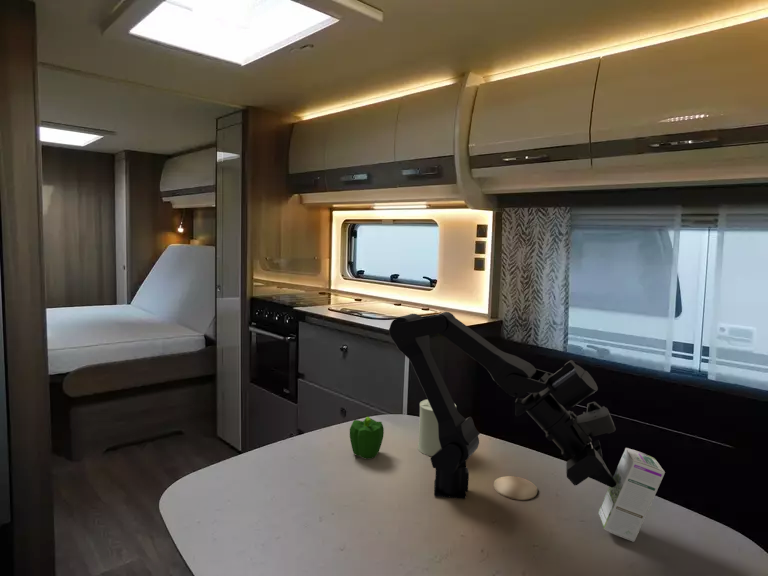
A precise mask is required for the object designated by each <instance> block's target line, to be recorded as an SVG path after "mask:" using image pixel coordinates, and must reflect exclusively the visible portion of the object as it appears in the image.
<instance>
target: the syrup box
mask: <svg viewBox="0 0 768 576" xmlns="http://www.w3.org/2000/svg"><path fill="white" fill-rule="evenodd" d="M665 473H666V472H665V470H664V469H663V468H662V466H661V465H660V463H659V462H658V461H657V459H656V458H655V457H653V456H651V455H648V453H647V454H646V453H644V452H641V451H638V450H635V449H633V448H632V449H631V448H629V447H625V448H624V451H623V453H622V455H621V458H620V460H619V462H618V465H617V467H616V468H615V472H614V474H613V475H612V476H613V478H614V480H615V482H616V486H614V487H612V488H611V487H609V486H608V489H607V491H606V493H605V495H604V498H603V500H602V502H601V504H600V507H599V510H598V512H597V516H598V517H599V519H600V523H601V525H602V528H603V530H605V531H607V532H608V533H611V534H612V535H615V536H617V537H619V538H623V539H625V540H628V541H631V542H632V543H634V542H635V541H636V539H637V537H638V536H639V532H640V530H641V528H642V526H643V523H644V521H645V519H646V516H647V515H648V512H649V510H650V508H651V505H652V503H653V501H654V499H655V496H656V494H657V492H658V489H659V487H660V485H661V483H662V480H663V478H664V476H665Z"/></svg>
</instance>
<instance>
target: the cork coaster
mask: <svg viewBox="0 0 768 576" xmlns="http://www.w3.org/2000/svg"><path fill="white" fill-rule="evenodd" d="M493 488H494V489H493V490H495V491H496V493H498V494H499V495H500V496H503V497H504V498H508V499H512V500H516V501H517V500H518V501H528V500H532V499H534V498H535V497H536V496H537V494H538V488H537V486H536V485H535V484H534V483H533V482H531V481H530V480H528V479H525V478H523V477H518V476H513V475H512V476H511V475H507V476H501V477H498V478H496V479H495V480H494V482H493Z"/></svg>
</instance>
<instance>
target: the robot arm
mask: <svg viewBox="0 0 768 576" xmlns="http://www.w3.org/2000/svg"><path fill="white" fill-rule="evenodd" d="M388 333H389V337H390V338H391V340H392V341H393V344H394V345H395V346H396V349H398V351H399V352H401V354H403V355H404V356H405V357H406V358H407V359H408V360H409V362H410V364H411V366H412V368H413V370H414V373H415V375H416V377H417V379H418V381H419V384H420V386H421V387H422V388H421V389H422V390H423V392H424V396H425V397H426V398H427V399H428V401H429V404H430V406H431V408H432V410H433V413H434V415H435V417H436V419H437V422H438V435H439V442H440V445H441V449H440V450H438V451H437V452H436V453H435V454H434V455H433V456H430V461H431V462H430V463H431V465H432V468H433V469H435V473H434V474H435V475H434V486H433V488H434V489H433V491H434V493H433V496H434V497H436V498H437V497H438V498H447V499H448V498H449V499H458V500H459V499H460V500H465V499H467V493H468V491H469V479H470V478H469V477H470V473H469V472H470V471H469V468H468V467H467V462H466V461H467V460H468V459H469V458H471V456H472V455H473V454H474V453H475V452H476V450H478V447H479V445H480V438H479V435H480V432H479V430H478V429H477V428H476V426H475V423H474V419H473V418H472V416H469V417H467V418H465V417H464V416H463V415H462V414H461V413H460V412H459V411H458V409H457V405H456V406H455V404H456V403H455V402H454V400H453V398H452V395H451V393H450V391H449V389H448V387H447V384H446V382H445V381H444V378H443V375H442V373H441V371H440V369H439V368H438V365H437V363H436V360H435V357H434V356H433V354H432V352H431V349H430V348H431V344H430V341H431V340H430V335H431V336H432V335H435V334H436V335H437V334H439V335H441V336H442V337H444V338H445V339H446V340H448V341H449V342H450V343H451V344H452V345H454V346H456V347H457V348H458V349H460V350H461V351H462V352H463V353H464V354H466V355H468V356H469V357H470V358H472V359H473V360H474V361H475V362H477V363H478V364H480V365H481V366H483V368H484V369H485V370H486V371H487V372H488V373H489V374H490V376H491V378H492V380H493V381H494V382H495V383H496V384H497V385H498V387H499V388H501V390H503V391H504V393H505V394H507V395H508V396H510V397H512V398H516V399H515V401H514V406H515V412H514V415H515V417H519V416H520V417H521V415H523V414H524V413H525V412H526V413H527V414H528V415H529V416H530V418H532V420H534V422H535V423H536V424H537V425H538V426H539V427H540V428H541V430H542V431H543V432H544V433H545V438H546V439H547V440H548V442H553V443H554V444H555V445H556V446H557V447H558V448H559V449H560V450H561V456H562V457H563V458H564V459H565V460H566V459H567V458H569V457H570V456H571V458H569V459H568V460H567V461H566V465H565V466H566V467H565V469H566V470H565V471H566V472H565V473H566V478H567V479H568V480H569V482H570V483H572V485H573V486H578V485H579V484H581V483H582V482H584V481H586V480H587V479H588V478H589V479H592V480H594V481H597V482H598V483H601V484H603V485H604V486H607V487H608V488H609V487H611V488H612V487H614V486H616V482H615V480H614V478H613V476H614V475H612V473H611V472H610V470H609V468H608V467H607V465H606V463H605V461H604V460H603V453H602V447H601V443H600V440H599V439H596V440H594V441H593V440H592V438H591V437H597V436H601V435H604V434H612V433H614V432H615V431H616V426H615V423H614V421H613V418H612V416H611V414H610V411H609V409H608V407H605V405H603V406H601V405H599V403H597V402H596V401H592V402H588V403H587V404H586V411H583V412H582V414H579V415H577V414H575V412H574V411H571V410H567V409H566V407H569V408H574V407H575V406H577V405H578V404H579V403H581V402H582V401H584V400H585V399H588V397H590V396H591V395H593V394H595V392H597V391H598V390H599V387H598V385H597V383H596V381H595V380H594V378H593V376H592V375H591V374H590V373H589V372H588V371H587V370H585V369H584V368H583V367H581V366H580V365H578V364H576V363H575V361H574V360H572V359H570V360H569V361H567V362H566V363H565V364H564V365H563V366H562V367H561V368H560V369H558V370H557V371H556V372H555V373H552V372H549V371H545V370H541V369H538V368H535V366H534V365H533V364H532V363H530V362H528V361H527V360H524V359H523V358H521V357H519V356H517V355H514V354H511V353H508V352H505V351H503V350H501V349H499V348H498V347H496V346H495V345H494V344H493V343H491V342H489V341H488V340H487V339H485V338H484V337H483V336H481V335H480V334H478V333H477V332H475V331H474V330H473V329H471V328H470V327H469V326H467V325H466V324H465V323H464V322H462V321H461V320H459V319H458V318H456V317H455V315H454V314H453V313H451V312H450V311H444V312H440V313H436V314H430V315H423V316H421V315H419V314H417V313H410V314H406V315H403V316H400V317H396V318H395V319H393V320H392V321H391V323H390V325H389V329H388ZM527 394H528V395H527ZM526 395H527V396H526ZM523 396H526V397H525V398H524V397H523ZM520 397H523V398H520ZM427 399H426V400H427ZM454 403H455V404H454Z"/></svg>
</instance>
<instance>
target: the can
mask: <svg viewBox="0 0 768 576" xmlns="http://www.w3.org/2000/svg"><path fill="white" fill-rule="evenodd" d="M454 404H455V406H456V407H457V405H456V403H455V402H454ZM418 422H419V424H418V426H419V427H418V428H419V429H418V430H419V431H418V445H417V450H418V451H419V452H420V453H422V454H423V455H425V456H428V457H432V456H433V455H434V454H435V453H436V452H437V451H438V450H440V449H441V445H440V442H439V435H438V422H437V419H436V417H435V415H434V413H433V410H432V408H431V406H430V404H429V401H428V399H423V400H422V401H420V402H419V421H418Z"/></svg>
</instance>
